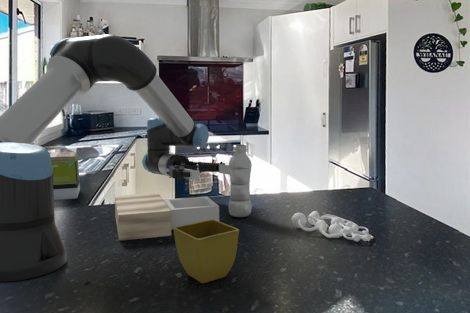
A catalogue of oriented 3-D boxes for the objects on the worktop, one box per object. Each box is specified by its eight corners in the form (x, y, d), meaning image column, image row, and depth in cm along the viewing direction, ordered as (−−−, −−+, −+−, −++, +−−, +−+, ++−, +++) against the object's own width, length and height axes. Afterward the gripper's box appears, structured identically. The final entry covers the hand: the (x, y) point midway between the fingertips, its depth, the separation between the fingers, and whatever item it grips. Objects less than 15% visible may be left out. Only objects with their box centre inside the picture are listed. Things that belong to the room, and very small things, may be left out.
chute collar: (219, 225, 106) (219, 206, 106) (171, 229, 103) (170, 209, 102) (207, 213, 118) (207, 196, 118) (164, 217, 114) (163, 199, 114)
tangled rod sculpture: (387, 242, 97) (389, 225, 96) (349, 250, 88) (351, 231, 87) (322, 222, 112) (323, 207, 112) (285, 227, 103) (286, 211, 103)
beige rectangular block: (171, 235, 98) (170, 210, 97) (119, 240, 94) (118, 215, 93) (158, 213, 119) (158, 192, 118) (115, 216, 115) (114, 195, 114)
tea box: (51, 192, 150) (48, 151, 148) (80, 190, 153) (78, 150, 151) (45, 201, 135) (42, 156, 134) (78, 198, 138) (75, 155, 137)
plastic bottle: (224, 218, 113) (223, 145, 111) (235, 212, 119) (235, 143, 117) (245, 220, 110) (244, 146, 108) (255, 215, 116) (255, 144, 114)
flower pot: (198, 291, 68) (197, 238, 67) (173, 274, 75) (172, 226, 74) (240, 278, 73) (240, 229, 72) (213, 263, 80) (213, 218, 79)
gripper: (204, 173, 145) (247, 180, 129) (142, 181, 128) (182, 191, 113) (204, 151, 144) (247, 156, 129) (141, 157, 127) (181, 164, 112)
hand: (217, 173), depth 120 cm, fingers open, 13 cm apart
